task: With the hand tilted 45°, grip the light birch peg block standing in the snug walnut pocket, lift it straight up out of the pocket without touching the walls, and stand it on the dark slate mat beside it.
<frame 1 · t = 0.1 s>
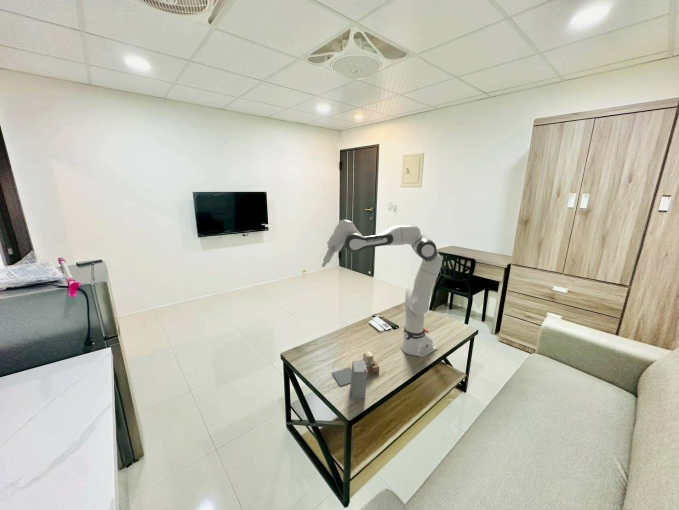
hand: (323, 264, 161), 54 cm above the table, tool tilted 30°, fingers open, 8 cm apart
walnut pocket: (367, 369, 151), on the table
slate mat: (345, 376, 145), on the table
skincare box: (358, 393, 134), on the table
birch peg block: (368, 362, 150), in the walnut pocket
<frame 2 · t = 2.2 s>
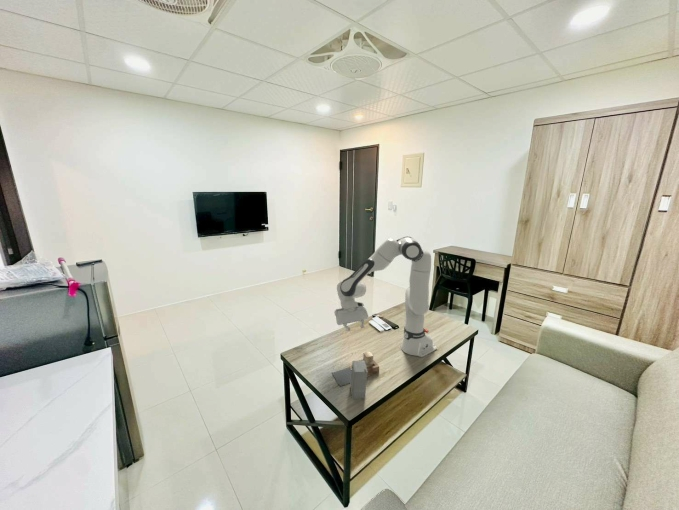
hand: (355, 329, 158), 18 cm above the table, tool tilted 45°, fingers open, 8 cm apart
nothing on the table moved.
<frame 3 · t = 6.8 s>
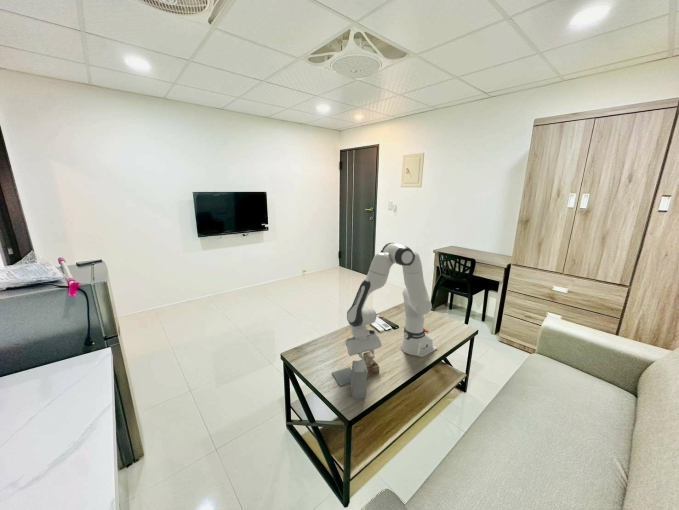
hand: (368, 359, 149), 7 cm above the table, tool tilted 45°, fingers closed on birch peg block, 4 cm apart
birch peg block: (368, 362, 150), in the walnut pocket, touching gripper
everything else where it was.
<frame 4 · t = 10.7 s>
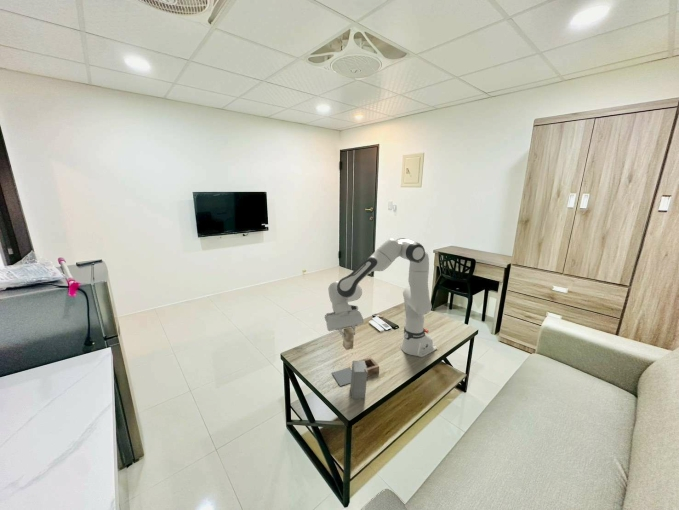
hand: (349, 336, 139), 24 cm above the table, tool tilted 45°, fingers closed on birch peg block, 4 cm apart
birch peg block: (348, 338, 140), point 23 cm above the table, touching gripper
everything else where it was.
when the fingers open (9 cm above the table, at t = 14.5 s): birch peg block drops 1 cm, resting on slate mat.
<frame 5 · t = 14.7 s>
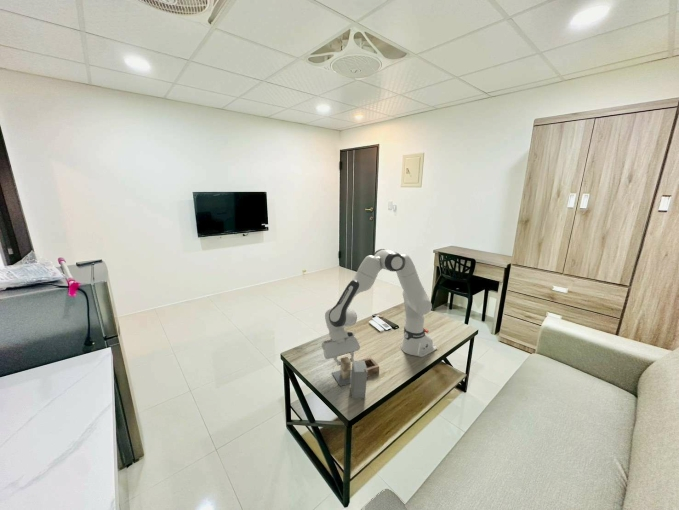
hand: (346, 363, 142), 9 cm above the table, tool tilted 45°, fingers open, 6 cm apart
birch peg block: (345, 368, 144), on the slate mat
everything else where it was.
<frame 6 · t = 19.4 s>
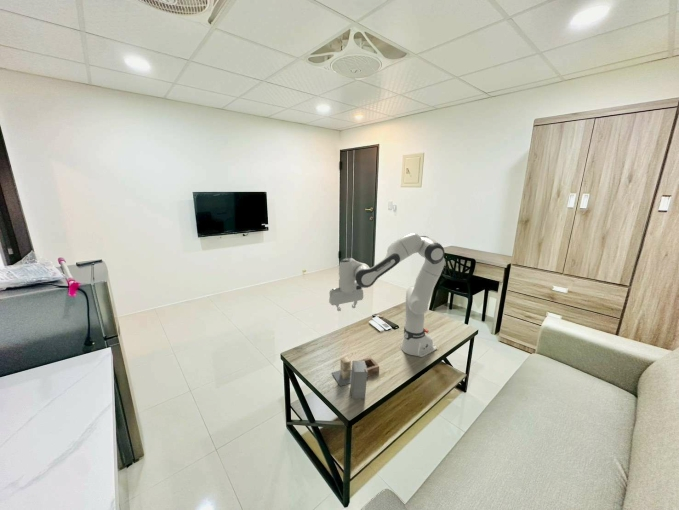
hand: (346, 309, 155), 31 cm above the table, tool pointing down, fingers open, 8 cm apart
nothing on the table moved.
at the end: birch peg block 0.1 cm off-centre on the slate mat, point 5.5 cm above the slate mat's base; birch peg block tilted 0°; the gripper is holding nothing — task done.
